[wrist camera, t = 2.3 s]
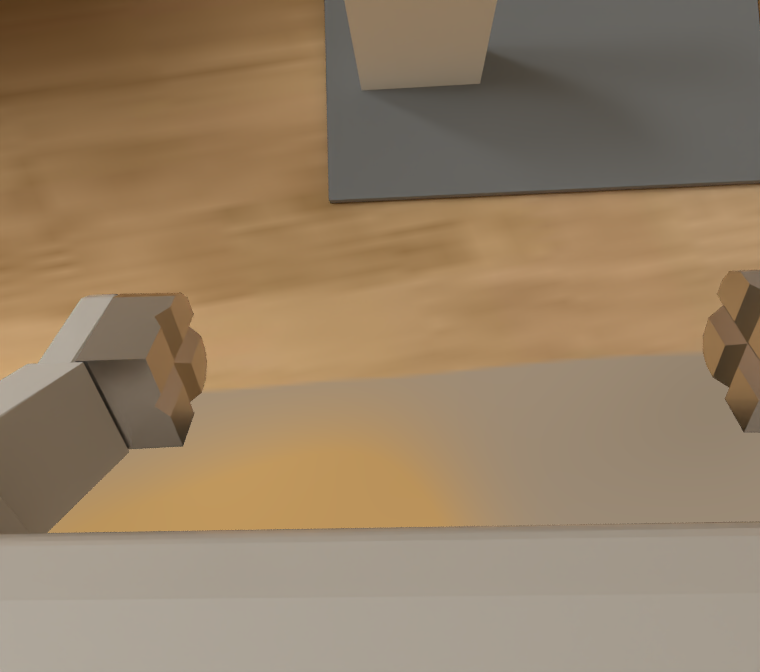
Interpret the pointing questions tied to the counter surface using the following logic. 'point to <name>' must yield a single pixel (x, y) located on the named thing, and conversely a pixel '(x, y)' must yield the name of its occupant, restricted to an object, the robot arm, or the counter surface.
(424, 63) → the loose domino
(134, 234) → the counter surface
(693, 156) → the domino mat
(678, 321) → the counter surface
